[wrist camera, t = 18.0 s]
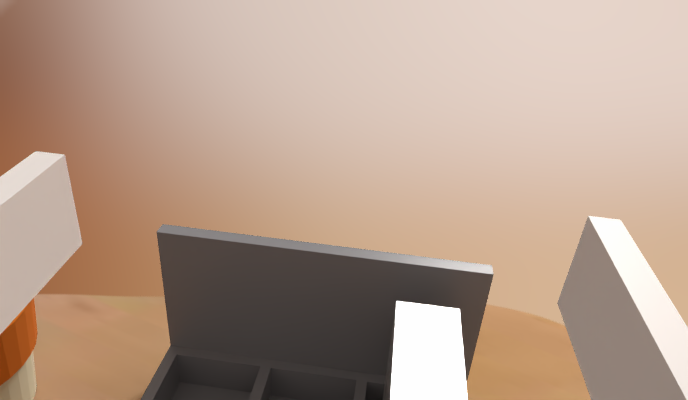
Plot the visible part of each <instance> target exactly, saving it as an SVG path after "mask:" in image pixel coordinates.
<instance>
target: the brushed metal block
mask: <svg viewBox="0 0 688 400" xmlns="http://www.w3.org/2000/svg"><path fill="white" fill-rule="evenodd" d="M382 400H467V389H466V377H465V366H464V355H463V343H462V332H461V320H460V309H455V308H447V307H440V306H432V305H424V304H417V303H409V302H402V301H396V308H395V315H394V322H393V329H392V336H391V343H390V350H389V357H388V364H387V371H386V378H385V385H384V392H383V399H382Z"/></svg>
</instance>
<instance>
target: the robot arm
mask: <svg viewBox="0 0 688 400" xmlns="http://www.w3.org/2000/svg"><path fill="white" fill-rule="evenodd" d="M81 245H82V239H81V234H80V229H79V224H78V219H77V214H76V209H75V204H74V199H73V194H72V189H71V184H70V179H69V174H68V169H67V164H66V159H65V155H63V154H54V153H46V152H37V151H36V152H34V153H33V154H31V155H30V156H29V157H27V158H26V159H25V160H23V161H22V162H20V163H19V164H18V165H16V166H15V167H13V168H12V169H11V170H9V171H8V172H6V173H5V174H4V175H2V176H1V177H0V334H1V333H2V332H3V331H4V330H5V329H6V328H7V327H8V326H9V324H10V323H11V322H12V321H13V320H14V319H15V318H16V317H17V316H18V314H19V313H20V312H21V311H22V310H23V309H24V308H25V307H26V306H27V304H28V303H29V302H30V301H31V300H32V299H33V298H34V297H35V296H36V295H37V293H38V292H39V291H40V290H41V289H42V288H43V287H44V286H45V285H46V283H47V282H48V281H49V280H50V279H51V278H52V277H53V276H54V274H55V273H56V272H57V271H58V270H59V269H60V268H61V267H62V266H63V265H64V263H65V262H66V261H67V260H68V259H69V258H70V257H71V256H72V255H73V254H74V252H75V251H76V250H77V249H78V248H79V247H80V246H81ZM558 306H559V309H560V311H561V314H562V317H563V320H564V323H565V326H566V329H567V332H568V334H569V337H570V340H571V343H572V346H573V349H574V352H575V354H576V357H577V360H578V363H579V366H580V369H581V372H582V374H583V377H584V380H585V383H586V386H587V389H588V391H589V394H590V397H591V400H688V327H687V326H686V324H685V322H684V321H683V319H682V318H681V316H680V315H679V313H678V311H677V309H676V308H675V307H674V305H673V303H672V301H671V300H670V298H669V297H668V295H667V293H666V292H665V290H664V289H663V287H662V285H661V284H660V282H659V281H658V279H657V278H656V276H655V274H654V273H653V271H652V269H651V268H650V266H649V265H648V263H647V262H646V260H645V258H644V257H643V255H642V253H641V252H640V250H639V249H638V247H637V245H636V244H635V242H634V241H633V239H632V237H631V236H630V234H629V233H628V231H627V229H626V228H625V226H624V225H623V223H622V221H621V220H618V219H610V218H601V217H593V216H588V218H587V221H586V224H585V227H584V230H583V232H582V235H581V238H580V241H579V244H578V247H577V249H576V252H575V255H574V258H573V261H572V264H571V266H570V269H569V272H568V275H567V278H566V281H565V283H564V286H563V289H562V292H561V295H560V297H559V300H558Z"/></svg>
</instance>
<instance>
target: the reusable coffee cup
mask: <svg viewBox="0 0 688 400" xmlns="http://www.w3.org/2000/svg"><path fill="white" fill-rule="evenodd" d="M36 339H37V324H36V314H35V304H34V298H33V299H32V300H31V301H30V302H29V303H28V304H27V306H26V307H25V308H24V309H23V310H22V311H21V312H20V313H19V314H18V316H17V317H16V318H15V319H14V320H13V321H12V322H11V323H10V324H9V326H8V327H7V328H6V329H5V330H4V331H3V332H2V333H1V334H0V400H33V398H34V396H35V393H36V386H37V385H36V376H35V366H34V357H33V349H34V347H35V344H36Z"/></svg>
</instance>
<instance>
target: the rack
mask: <svg viewBox="0 0 688 400" xmlns="http://www.w3.org/2000/svg"><path fill="white" fill-rule="evenodd" d="M157 238H158V246H159V253H160V261H161V269H162V278H163V286H164V295H165V303H166V311H167V319H168V327H169V335H170V343H171V346H170V348H169V350H168V351H167V353H166V355H165V357H164V359H163V360H162V362H161V364H160V366H159V368H158V369H157V371H156V373H155V375H154V377H153V378H152V380H151V382H150V384H149V386H148V387H147V389H146V391H145V393H144V395H143V396H142V398H141V400H382V399H383V392H384V385H385V378H386V371H387V364H388V357H389V350H390V343H391V336H392V329H393V322H394V315H395V308H396V301H402V302H409V303H417V304H424V305H432V306H440V307H447V308H455V309H460V320H461V332H462V343H463V355H464V366H465V377H466V383H467V379H468V375H469V371H470V367H471V363H472V359H473V355H474V351H475V347H476V343H477V339H478V335H479V331H480V327H481V323H482V319H483V315H484V311H485V307H486V302H487V299H488V294H489V290H490V286H491V282H492V278H493V269H492V266H491V265H485V264H477V263H468V262H461V261H453V260H445V259H436V258H429V257H420V256H413V255H405V254H397V253H389V252H380V251H373V250H365V249H357V248H349V247H340V246H332V245H324V244H316V243H309V242H299V241H293V240H285V239H276V238H268V237H261V236H253V235H245V234H236V233H228V232H220V231H212V230H204V229H196V228H188V227H180V226H172V225H164V224H163V225H162V226H161V227H160V229H159V230H158V231H157Z"/></svg>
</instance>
